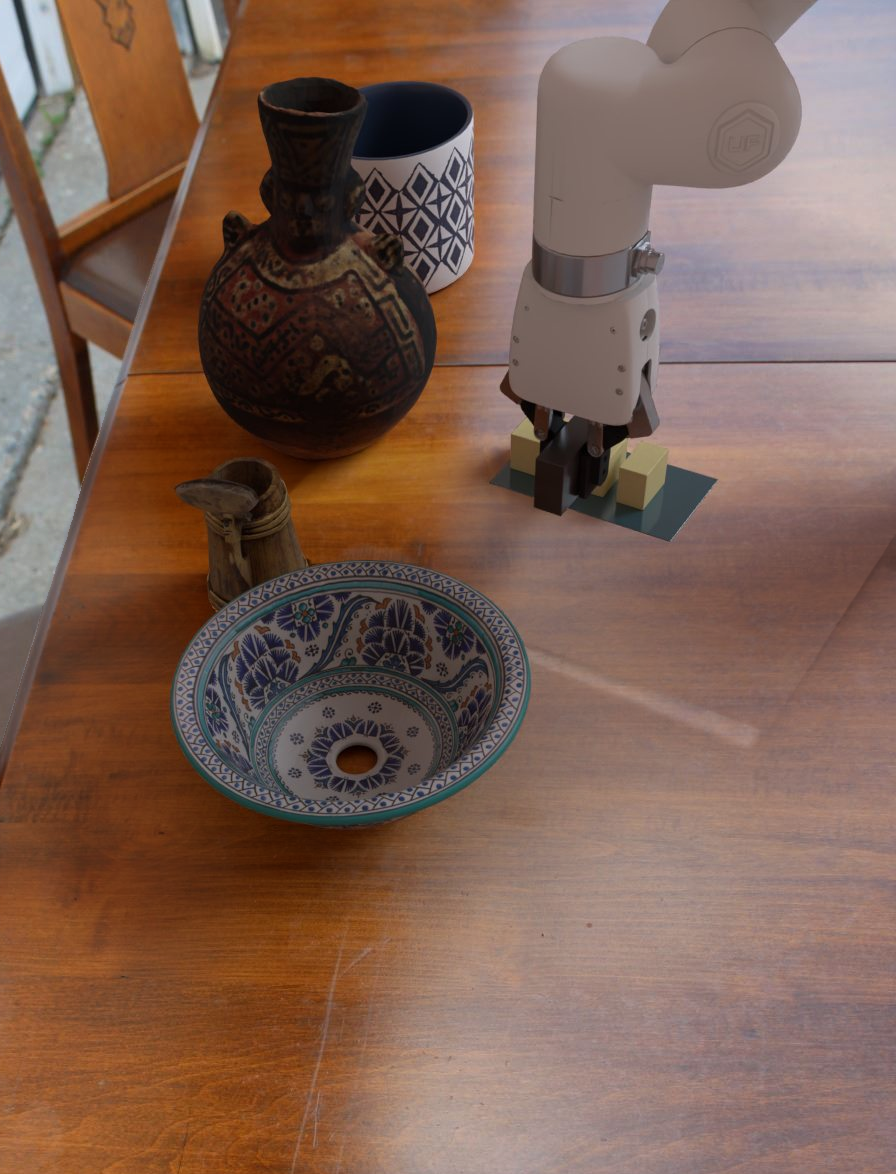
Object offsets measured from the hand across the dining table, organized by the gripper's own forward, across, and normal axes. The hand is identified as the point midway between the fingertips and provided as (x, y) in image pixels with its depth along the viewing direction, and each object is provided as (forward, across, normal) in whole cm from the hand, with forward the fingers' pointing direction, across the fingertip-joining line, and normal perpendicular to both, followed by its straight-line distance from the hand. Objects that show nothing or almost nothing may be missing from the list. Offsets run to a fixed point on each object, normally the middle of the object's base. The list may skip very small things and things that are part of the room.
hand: (572, 480), depth 104 cm
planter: (+8, +38, -33) cm, 51 cm away
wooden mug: (+8, +20, +17) cm, 27 cm away
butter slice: (+7, -2, -9) cm, 11 cm away
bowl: (+8, +2, +28) cm, 29 cm away
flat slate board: (+8, +2, -9) cm, 12 cm away
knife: (0, 0, -5) cm, 5 cm away
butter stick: (+7, +5, -9) cm, 12 cm away
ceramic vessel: (+8, +28, -5) cm, 29 cm away
